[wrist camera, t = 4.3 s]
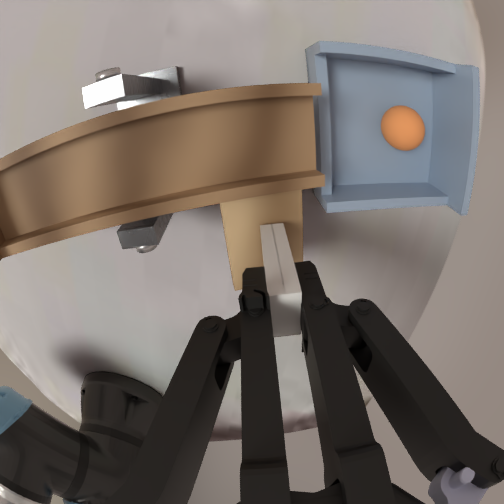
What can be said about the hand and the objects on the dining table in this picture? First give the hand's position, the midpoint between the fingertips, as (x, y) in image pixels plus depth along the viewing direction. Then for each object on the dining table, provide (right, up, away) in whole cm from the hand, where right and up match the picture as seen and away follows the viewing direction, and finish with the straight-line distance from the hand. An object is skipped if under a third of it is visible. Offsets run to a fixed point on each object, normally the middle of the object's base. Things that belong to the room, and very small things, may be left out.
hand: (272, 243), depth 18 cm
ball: (+10, +9, 0) cm, 13 cm away
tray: (+9, +10, +2) cm, 14 cm away
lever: (-8, +2, -2) cm, 8 cm away
